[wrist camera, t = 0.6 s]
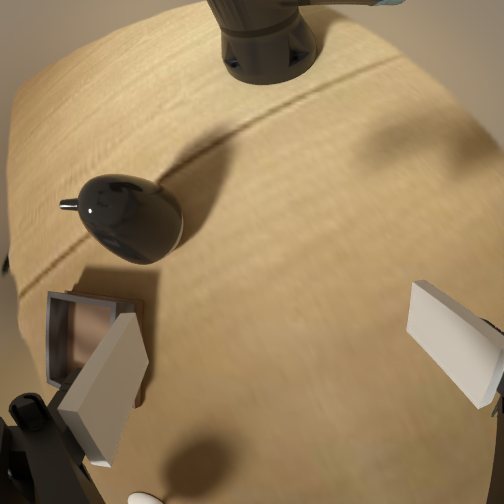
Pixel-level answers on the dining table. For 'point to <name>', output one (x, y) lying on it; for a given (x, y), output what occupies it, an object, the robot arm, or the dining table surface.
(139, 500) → the wineglass
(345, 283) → the dining table surface
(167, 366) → the dining table surface
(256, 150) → the dining table surface
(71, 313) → the holder
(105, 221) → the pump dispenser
